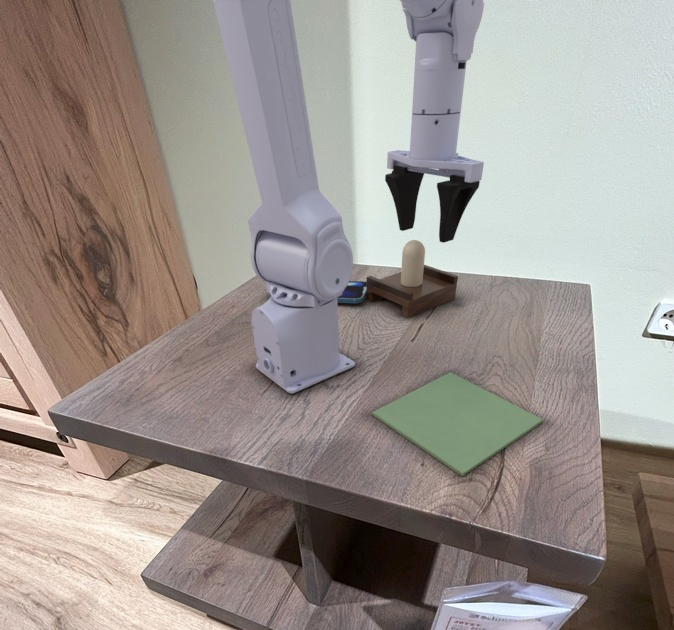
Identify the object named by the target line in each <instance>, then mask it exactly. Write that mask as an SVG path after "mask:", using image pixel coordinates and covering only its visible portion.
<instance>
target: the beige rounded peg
mask: <svg viewBox="0 0 674 630" xmlns="http://www.w3.org/2000/svg"><path fill="white" fill-rule="evenodd" d="M425 257H426V247H425V245H424V244H423V242H421V241H420V240H418V239H412V240H409V241H407V242H406V243H405V245H404V246H403V248H402V254H401V269H400V272H401V284H402V285H403V286H407V287H417V286H420V285H422V282H423V271H424V265H425V260H426V259H425Z"/></svg>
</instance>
